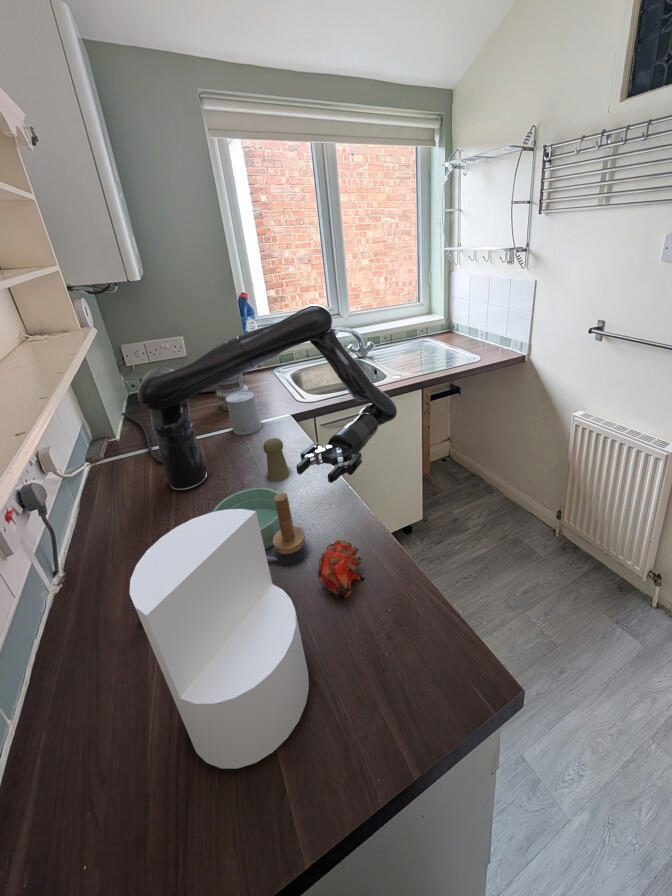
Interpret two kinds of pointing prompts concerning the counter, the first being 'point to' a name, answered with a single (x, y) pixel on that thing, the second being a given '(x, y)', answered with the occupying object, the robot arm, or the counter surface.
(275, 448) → the olive green tapered cone
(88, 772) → the counter surface
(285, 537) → the dish brush
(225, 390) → the apothecary jar
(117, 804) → the counter surface
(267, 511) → the bowl
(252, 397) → the white canister
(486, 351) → the counter surface
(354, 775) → the counter surface
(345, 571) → the dragon fruit
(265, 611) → the stepped white drum
